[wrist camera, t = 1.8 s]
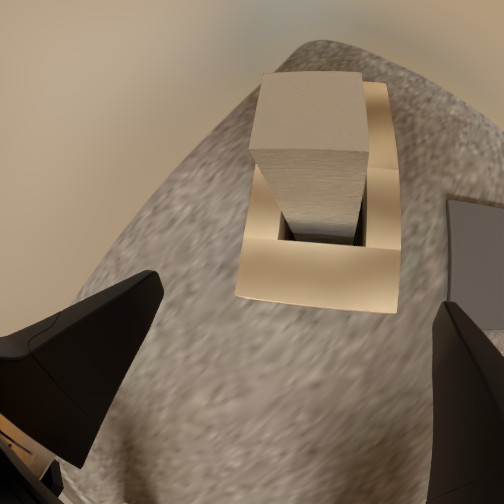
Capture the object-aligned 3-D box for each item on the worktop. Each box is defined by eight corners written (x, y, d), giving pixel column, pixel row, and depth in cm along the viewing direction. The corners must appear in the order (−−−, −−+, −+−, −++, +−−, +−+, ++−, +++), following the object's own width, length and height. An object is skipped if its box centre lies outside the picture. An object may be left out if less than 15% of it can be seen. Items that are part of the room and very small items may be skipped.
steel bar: (351, 249, 20) (369, 152, 8) (298, 245, 21) (248, 149, 9) (353, 200, 21) (361, 72, 9) (303, 197, 22) (263, 73, 10)
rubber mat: (530, 328, 13) (534, 328, 13) (444, 328, 16) (447, 328, 16) (527, 216, 15) (530, 214, 15) (445, 202, 18) (448, 199, 18)
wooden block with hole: (384, 314, 18) (396, 312, 14) (252, 299, 21) (234, 295, 17) (382, 112, 22) (385, 83, 18) (279, 109, 25) (269, 81, 21)
